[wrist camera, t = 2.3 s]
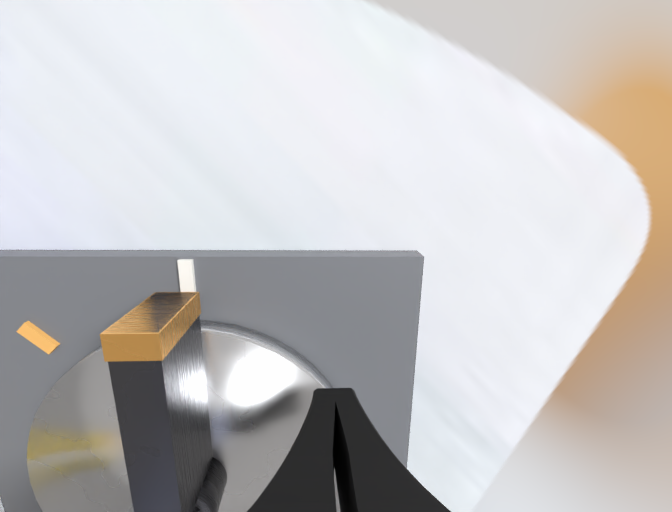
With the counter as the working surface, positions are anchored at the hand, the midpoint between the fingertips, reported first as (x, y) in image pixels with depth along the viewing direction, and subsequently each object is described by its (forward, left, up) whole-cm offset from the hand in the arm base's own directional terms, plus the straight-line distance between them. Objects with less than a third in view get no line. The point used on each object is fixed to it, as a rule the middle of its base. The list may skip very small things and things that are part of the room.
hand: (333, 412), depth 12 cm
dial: (-3, +5, -2) cm, 7 cm away
